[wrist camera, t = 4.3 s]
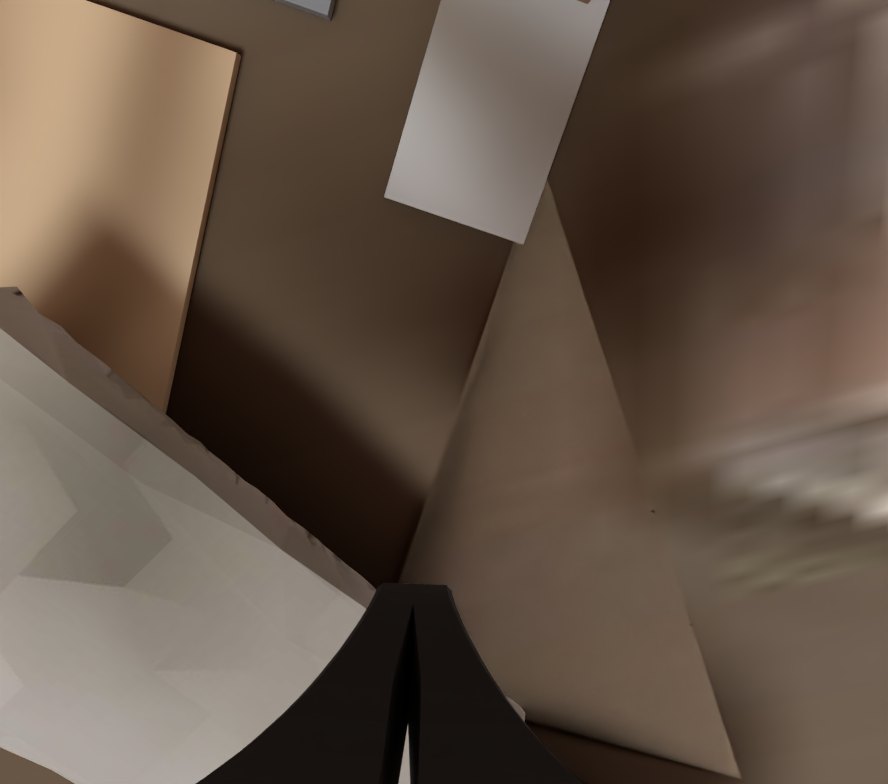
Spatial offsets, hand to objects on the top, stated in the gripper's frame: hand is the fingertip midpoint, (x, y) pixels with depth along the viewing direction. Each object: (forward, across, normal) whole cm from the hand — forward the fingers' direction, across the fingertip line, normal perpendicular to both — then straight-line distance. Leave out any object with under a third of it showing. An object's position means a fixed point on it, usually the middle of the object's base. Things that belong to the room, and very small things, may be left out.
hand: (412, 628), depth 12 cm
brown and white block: (+8, -2, -12) cm, 14 cm away
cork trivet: (+8, +11, -3) cm, 14 cm away
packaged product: (+5, +3, 0) cm, 6 cm away
